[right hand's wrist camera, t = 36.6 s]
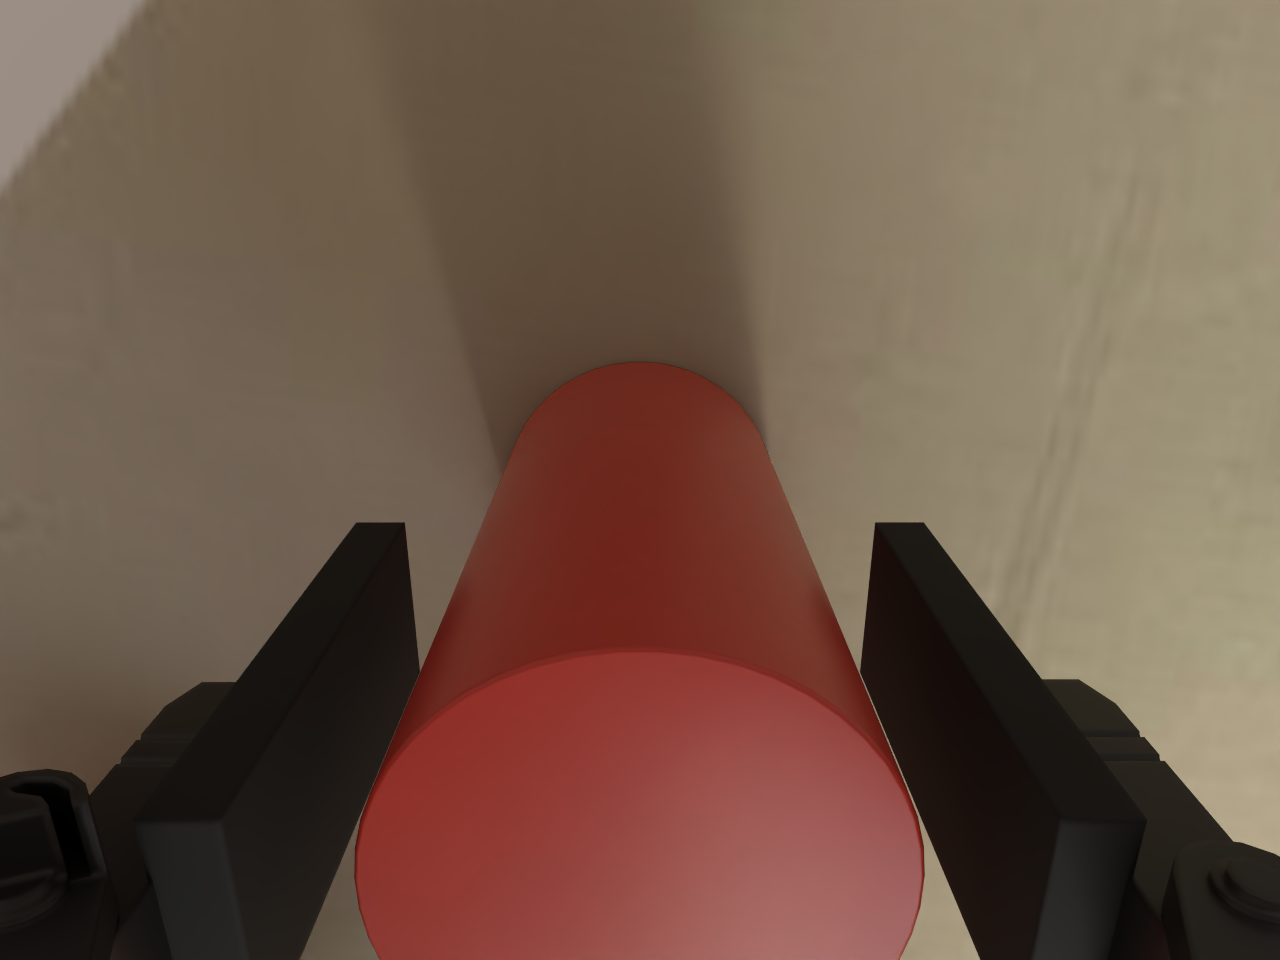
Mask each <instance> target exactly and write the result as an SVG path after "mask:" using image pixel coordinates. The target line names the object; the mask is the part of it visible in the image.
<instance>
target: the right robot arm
mask: <svg viewBox="0 0 1280 960" xmlns="http://www.w3.org/2000/svg"><path fill="white" fill-rule="evenodd" d="M419 673H420V668H419V659H418V649H417V639H416V629H415V619H414V609H413V599H412V589H411V580H410V570H409V560H408V550H407V540H406V530H405V523H356V524H355V525H354V526H353V528H352V529H351V530H350V532H349V533H348V534H347V536H346V537H345V538H344V540H343V541H342V542H341V544H340V545H339V546H338V548H337V549H336V550H335V552H334V553H333V554H332V556H331V557H330V558H329V560H328V561H327V562H326V564H325V565H324V566H323V568H322V569H321V570H320V572H319V573H318V574H317V575H316V577H315V578H314V579H313V581H312V582H311V583H310V585H309V586H308V587H307V589H306V590H305V591H304V593H303V594H302V595H301V597H300V598H299V599H298V601H297V602H296V603H295V605H294V606H293V607H292V609H291V610H290V611H289V613H288V614H287V615H286V617H285V618H284V619H283V621H282V622H281V623H280V625H279V626H278V627H277V629H276V630H275V631H274V633H273V634H272V635H271V637H270V638H269V639H268V641H267V642H266V643H265V645H264V646H263V647H262V649H261V650H260V651H259V652H258V654H257V655H256V656H255V658H254V659H253V660H252V662H251V663H250V664H249V666H248V667H247V668H246V670H245V671H244V672H243V674H242V675H241V676H240V678H239V679H238V680H237V682H202V683H200V684H199V685H197V686H195V687H194V688H192V689H191V690H189V691H188V692H186V693H185V694H183V695H182V696H180V697H179V698H177V699H176V700H174V701H173V702H171V703H170V704H168V705H166V706H165V707H164V708H163V709H162V711H161V712H160V713H159V714H158V715H157V717H156V718H155V719H154V720H153V721H152V722H151V724H150V725H149V726H148V727H147V728H146V730H145V731H144V732H143V733H142V734H141V740H136V741H135V743H134V744H133V745H132V746H131V747H130V748H129V750H128V751H127V752H126V753H125V754H124V756H123V757H122V758H121V764H116V765H115V766H114V767H113V768H112V770H111V771H110V772H109V773H108V774H107V776H106V777H105V778H104V779H103V780H102V781H101V783H100V784H99V785H98V786H97V787H96V789H95V790H94V791H93V792H92V793H91V794H90V796H89V794H88V790H87V786H86V783H84V782H83V781H82V780H81V779H79V778H78V777H77V776H75V775H74V774H73V773H70V772H64V771H58V770H52V769H42V770H33V771H24V772H16V773H13V774H10V775H6V776H3V777H0V960H300V957H301V955H302V953H303V950H304V948H305V946H306V943H307V941H308V938H309V936H310V934H311V931H312V929H313V926H314V924H315V922H316V919H317V917H318V914H319V912H320V910H321V907H322V905H323V903H324V900H325V898H326V895H327V893H328V891H329V888H330V886H331V883H332V881H333V879H334V876H335V874H336V871H337V869H338V867H339V864H340V862H341V859H342V857H343V855H344V852H345V850H346V848H347V845H348V843H349V840H350V838H351V836H352V833H353V831H354V828H355V826H356V824H357V821H358V819H359V816H360V814H361V812H362V809H363V807H364V805H365V802H366V800H367V797H368V795H369V793H370V790H371V788H372V785H373V783H374V781H375V778H376V776H377V773H378V771H379V769H380V766H381V764H382V761H383V759H384V757H385V754H386V752H387V750H388V747H389V745H390V742H391V740H392V738H393V735H394V733H395V730H396V728H397V726H398V723H399V721H400V718H401V716H402V714H403V711H404V709H405V707H406V704H407V702H408V699H409V697H410V695H411V692H412V690H413V687H414V685H415V683H416V680H417V678H418V675H419ZM860 673H861V675H862V678H863V680H864V683H865V685H866V687H867V690H868V692H869V695H870V697H871V699H872V702H873V704H874V706H875V709H876V711H877V714H878V716H879V718H880V721H881V723H882V726H883V728H884V730H885V733H886V735H887V738H888V740H889V742H890V745H891V747H892V750H893V752H894V754H895V757H896V759H897V761H898V764H899V766H900V769H901V771H902V773H903V776H904V778H905V781H906V783H907V785H908V788H909V790H910V793H911V795H912V797H913V800H914V802H915V804H916V807H917V809H918V812H919V814H920V816H921V819H922V821H923V824H924V826H925V828H926V831H927V833H928V836H929V838H930V840H931V843H932V845H933V848H934V850H935V852H936V855H937V857H938V859H939V862H940V864H941V867H942V869H943V871H944V874H945V876H946V879H947V881H948V883H949V886H950V888H951V891H952V893H953V895H954V898H955V900H956V902H957V905H958V907H959V910H960V912H961V914H962V917H963V919H964V922H965V924H966V926H967V929H968V931H969V934H970V936H971V938H972V941H973V943H974V945H975V948H976V950H977V953H978V955H979V957H980V960H1280V857H1279V856H1278V855H1276V854H1274V853H1271V852H1268V851H1265V850H1262V849H1259V848H1256V847H1253V846H1250V845H1247V844H1244V843H1240V842H1233V841H1232V839H1231V838H1230V837H1229V836H1228V835H1227V834H1226V832H1225V831H1224V830H1223V829H1222V828H1221V827H1220V825H1219V824H1218V823H1217V822H1216V821H1215V820H1214V818H1213V817H1212V816H1211V815H1210V814H1209V812H1208V811H1207V810H1206V809H1205V808H1204V807H1203V805H1202V804H1201V803H1200V802H1199V801H1198V800H1197V798H1196V797H1195V796H1194V795H1193V794H1192V793H1191V791H1190V790H1189V789H1188V788H1187V787H1186V786H1185V784H1184V783H1183V782H1182V781H1181V780H1180V778H1179V777H1178V776H1177V775H1176V774H1175V773H1174V771H1173V770H1172V769H1171V768H1170V767H1169V766H1168V764H1167V763H1166V762H1165V761H1160V758H1159V754H1158V753H1157V752H1156V750H1155V749H1154V748H1153V747H1152V746H1151V744H1150V743H1149V742H1148V741H1147V740H1146V739H1145V737H1140V734H1139V730H1138V729H1137V728H1136V727H1135V726H1134V725H1133V723H1132V722H1131V721H1130V720H1129V719H1128V718H1127V716H1126V715H1125V714H1124V713H1123V712H1122V710H1121V709H1120V708H1119V707H1118V706H1117V705H1116V703H1114V702H1112V701H1111V700H1109V699H1108V698H1106V697H1105V696H1103V695H1102V694H1100V693H1099V692H1097V691H1096V690H1094V689H1093V688H1091V687H1089V686H1088V685H1086V684H1085V683H1083V682H1082V681H1080V680H1079V679H1041V678H1040V676H1039V675H1038V674H1037V672H1036V671H1035V670H1034V668H1033V667H1032V666H1031V664H1030V663H1029V662H1028V660H1027V659H1026V658H1025V656H1024V655H1023V654H1022V652H1021V651H1020V650H1019V648H1018V647H1017V646H1016V645H1015V643H1014V642H1013V641H1012V639H1011V638H1010V637H1009V635H1008V634H1007V633H1006V631H1005V630H1004V629H1003V627H1002V626H1001V625H1000V623H999V622H998V621H997V619H996V618H995V617H994V615H993V614H992V613H991V611H990V610H989V609H988V607H987V606H986V605H985V603H984V602H983V601H982V599H981V598H980V597H979V595H978V594H977V593H976V591H975V590H974V589H973V587H972V586H971V585H970V583H969V582H968V581H967V579H966V578H965V577H964V575H963V574H962V573H961V571H960V570H959V569H958V568H957V566H956V565H955V564H954V562H953V561H952V560H951V558H950V557H949V556H948V554H947V553H946V552H945V550H944V549H943V548H942V546H941V545H940V544H939V542H938V541H937V540H936V538H935V537H934V536H933V534H932V533H931V532H930V530H929V529H928V528H927V526H926V525H925V524H924V523H875V530H874V540H873V550H872V560H871V570H870V580H869V590H868V599H867V609H866V619H865V629H864V639H863V649H862V659H861V669H860Z"/></svg>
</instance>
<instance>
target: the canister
mask: <svg viewBox="0 0 1280 960" xmlns="http://www.w3.org/2000/svg"><path fill="white" fill-rule="evenodd" d="M924 876H925V872H924V845H923V840H922V835H921V830H920V826H919V821H918V816H917V814H916V811H915V808H914V806H913V803H912V801H911V798H910V796H909V793H908V790H907V788H906V785H905V783H904V781H903V778H902V776H901V773H900V771H899V768H898V766H897V764H896V761H895V759H894V756H893V754H892V752H891V749H890V747H889V744H888V742H887V740H886V737H885V735H884V732H883V730H882V728H881V725H880V723H879V720H878V718H877V715H876V713H875V711H874V708H873V706H872V703H871V701H870V699H869V696H868V694H867V691H866V689H865V687H864V684H863V682H862V679H861V677H860V675H859V672H858V670H857V667H856V665H855V662H854V660H853V658H852V655H851V653H850V650H849V648H848V646H847V643H846V641H845V638H844V636H843V634H842V631H841V629H840V626H839V624H838V622H837V619H836V617H835V614H834V612H833V609H832V607H831V605H830V602H829V600H828V597H827V595H826V593H825V590H824V588H823V585H822V583H821V581H820V578H819V576H818V573H817V571H816V569H815V566H814V564H813V561H812V559H811V556H810V554H809V552H808V549H807V547H806V544H805V542H804V540H803V537H802V535H801V532H800V530H799V528H798V525H797V523H796V520H795V518H794V516H793V513H792V511H791V508H790V506H789V503H788V501H787V499H786V496H785V494H784V491H783V489H782V487H781V484H780V482H779V479H778V477H777V475H776V472H775V470H774V467H773V465H772V463H771V460H770V458H769V455H768V453H767V450H766V448H765V446H764V443H763V441H762V438H761V436H760V434H759V432H758V430H757V429H756V427H755V425H754V423H753V422H752V420H751V419H750V417H749V416H748V415H747V413H746V412H745V411H744V410H743V408H742V407H741V406H740V405H739V404H738V403H737V402H736V401H735V400H734V399H733V398H732V397H731V396H730V395H729V394H728V393H726V392H725V391H724V390H722V389H721V388H720V387H718V386H717V385H716V384H714V383H712V382H710V381H709V380H707V379H705V378H703V377H701V376H700V375H697V374H695V373H692V372H690V371H687V370H685V369H681V368H678V367H674V366H670V365H666V364H658V363H650V362H629V363H622V364H614V365H610V366H606V367H602V368H598V369H595V370H592V371H590V372H587V373H585V374H583V375H580V376H578V377H576V378H574V379H573V380H571V381H569V382H568V383H566V384H564V385H562V386H561V387H560V388H559V389H557V390H556V391H555V392H553V393H552V394H551V395H550V396H548V397H547V398H546V399H545V401H544V402H543V403H542V404H541V405H540V406H539V407H538V408H537V409H536V410H535V411H534V413H533V414H532V416H531V417H530V418H529V420H528V421H527V422H526V424H525V426H524V428H523V430H522V432H521V433H520V435H519V437H518V440H517V442H516V444H515V447H514V449H513V452H512V454H511V456H510V459H509V461H508V464H507V466H506V468H505V471H504V473H503V475H502V478H501V480H500V483H499V485H498V487H497V490H496V492H495V495H494V497H493V499H492V502H491V504H490V507H489V509H488V511H487V514H486V516H485V519H484V521H483V523H482V526H481V528H480V531H479V533H478V535H477V538H476V540H475V543H474V545H473V547H472V550H471V552H470V555H469V557H468V559H467V562H466V564H465V567H464V569H463V571H462V574H461V576H460V579H459V581H458V583H457V586H456V588H455V591H454V593H453V595H452V598H451V600H450V603H449V605H448V607H447V610H446V612H445V614H444V617H443V619H442V622H441V624H440V626H439V629H438V631H437V634H436V636H435V638H434V641H433V643H432V646H431V648H430V650H429V653H428V655H427V658H426V660H425V662H424V665H423V667H422V670H421V672H420V674H419V677H418V679H417V682H416V684H415V686H414V689H413V691H412V694H411V696H410V698H409V701H408V703H407V706H406V708H405V710H404V713H403V715H402V718H401V720H400V722H399V725H398V727H397V730H396V732H395V734H394V737H393V739H392V741H391V744H390V746H389V749H388V751H387V753H386V756H385V758H384V761H383V763H382V765H381V768H380V770H379V773H378V775H377V777H376V780H375V782H374V785H373V787H372V789H371V792H370V795H369V797H368V800H367V803H366V806H365V808H364V811H363V814H362V816H361V819H360V824H359V830H358V835H357V840H356V846H355V877H354V878H355V885H356V891H357V898H358V904H359V910H360V913H361V916H362V919H363V922H364V925H365V928H366V932H367V935H368V937H369V939H370V941H371V943H372V945H373V947H374V949H375V951H376V953H377V955H378V957H379V959H380V960H899V959H900V957H901V955H902V953H903V951H904V949H905V947H906V945H907V943H908V941H909V939H910V937H911V935H912V932H913V929H914V925H915V922H916V919H917V916H918V912H919V909H920V905H921V898H922V890H923V883H924Z"/></svg>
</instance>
